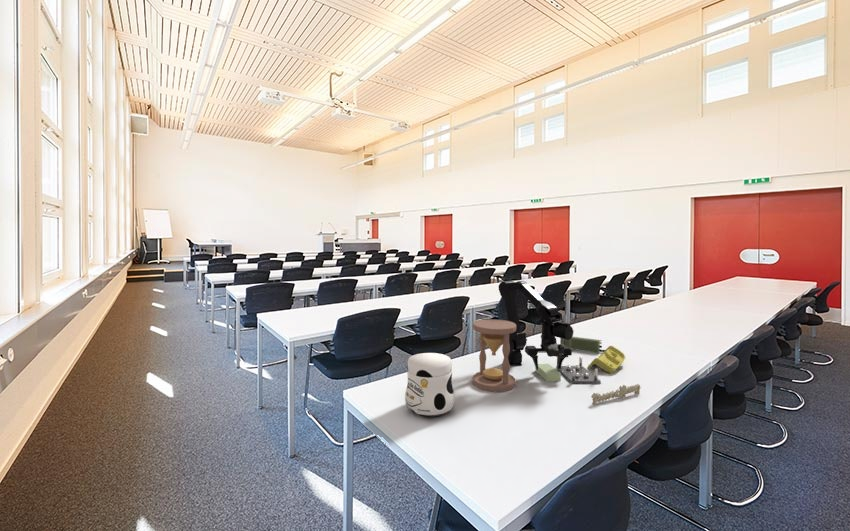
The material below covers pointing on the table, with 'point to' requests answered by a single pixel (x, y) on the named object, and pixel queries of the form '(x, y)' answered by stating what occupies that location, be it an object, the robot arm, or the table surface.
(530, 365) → the table surface
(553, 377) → the board
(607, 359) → the plastic component
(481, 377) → the hourglass
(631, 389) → the decorative sign
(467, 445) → the table surface
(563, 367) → the chassis
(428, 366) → the milk container
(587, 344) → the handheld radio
